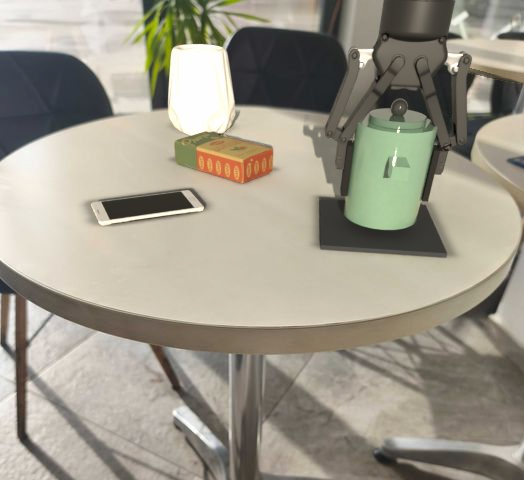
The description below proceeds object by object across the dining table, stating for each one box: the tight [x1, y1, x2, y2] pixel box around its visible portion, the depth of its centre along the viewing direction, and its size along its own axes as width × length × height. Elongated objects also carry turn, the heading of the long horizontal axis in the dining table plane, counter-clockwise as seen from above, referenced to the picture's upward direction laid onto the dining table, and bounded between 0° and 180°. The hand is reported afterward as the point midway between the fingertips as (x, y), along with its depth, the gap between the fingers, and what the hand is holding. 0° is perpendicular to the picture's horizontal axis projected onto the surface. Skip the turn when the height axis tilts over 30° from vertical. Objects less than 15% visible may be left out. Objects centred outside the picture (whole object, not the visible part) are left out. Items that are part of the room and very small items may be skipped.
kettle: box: [343, 98, 438, 230], centre depth 64 cm, size 17×10×15 cm, turn 175°
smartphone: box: [90, 189, 205, 226], centre depth 72 cm, size 8×1×15 cm
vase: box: [167, 43, 236, 136], centre depth 102 cm, size 14×14×15 cm
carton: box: [173, 131, 274, 184], centre depth 86 cm, size 8×16×4 cm, turn 51°
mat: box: [319, 198, 448, 259], centre depth 69 cm, size 16×16×1 cm
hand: (383, 195), depth 67 cm, fingers closed on kettle, 10 cm apart
